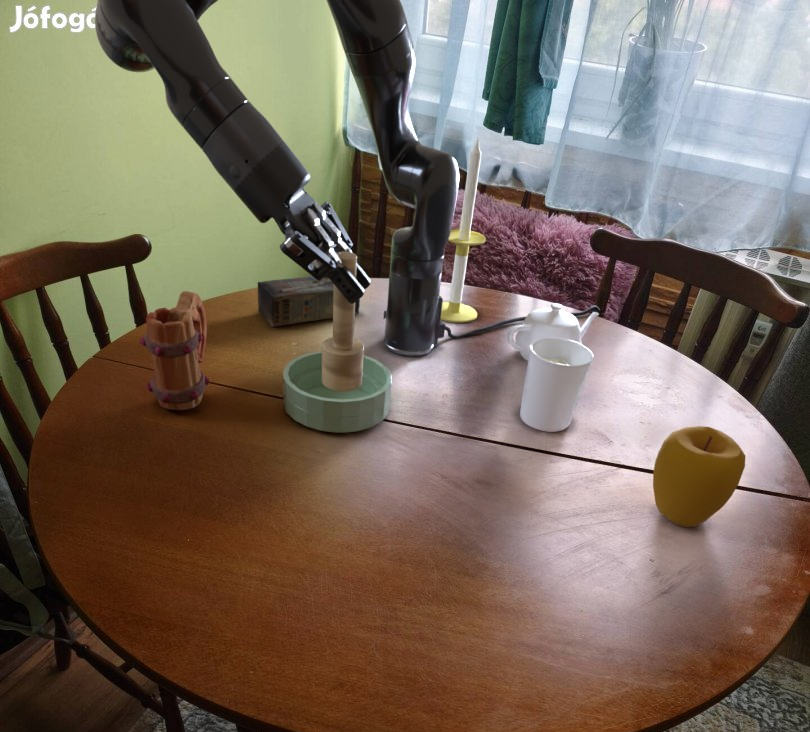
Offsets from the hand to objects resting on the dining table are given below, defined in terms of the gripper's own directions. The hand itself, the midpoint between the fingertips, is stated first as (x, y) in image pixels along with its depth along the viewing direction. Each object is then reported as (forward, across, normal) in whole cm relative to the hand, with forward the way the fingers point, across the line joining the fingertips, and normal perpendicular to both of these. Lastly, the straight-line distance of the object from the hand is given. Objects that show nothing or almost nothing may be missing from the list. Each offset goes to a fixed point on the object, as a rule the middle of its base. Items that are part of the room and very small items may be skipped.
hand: (361, 293), depth 81 cm
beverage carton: (+3, +50, +33) cm, 60 cm away
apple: (+51, +4, -14) cm, 53 cm away
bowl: (+13, +16, +23) cm, 31 cm away
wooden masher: (+7, 0, +10) cm, 12 cm away
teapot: (+37, +48, 0) cm, 61 cm away
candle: (+23, +62, +14) cm, 67 cm away
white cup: (+37, +24, 0) cm, 44 cm away
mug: (-3, +12, +39) cm, 41 cm away
